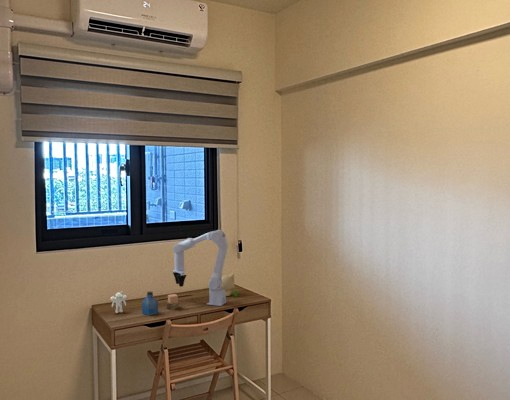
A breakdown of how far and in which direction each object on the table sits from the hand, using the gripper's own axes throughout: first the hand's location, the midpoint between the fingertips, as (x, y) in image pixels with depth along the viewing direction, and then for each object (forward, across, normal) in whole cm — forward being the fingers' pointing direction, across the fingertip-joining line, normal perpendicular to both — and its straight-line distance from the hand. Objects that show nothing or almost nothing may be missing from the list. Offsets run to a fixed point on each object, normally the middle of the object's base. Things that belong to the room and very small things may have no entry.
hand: (179, 285), depth 285 cm
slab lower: (+11, +11, -7) cm, 17 cm away
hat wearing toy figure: (+11, +6, -37) cm, 39 cm away
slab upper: (+9, +11, -7) cm, 16 cm away
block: (+7, +11, -7) cm, 15 cm away
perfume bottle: (+11, +16, -21) cm, 28 cm away
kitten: (+11, -1, +31) cm, 33 cm away
